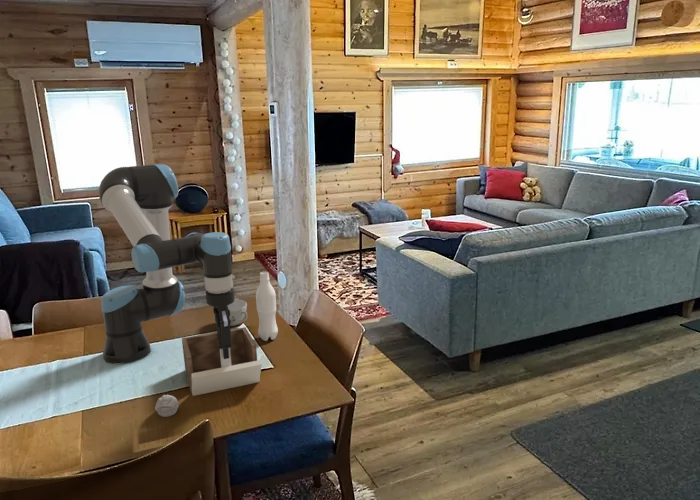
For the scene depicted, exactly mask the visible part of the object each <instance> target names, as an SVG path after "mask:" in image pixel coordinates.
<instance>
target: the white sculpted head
mask: <svg viewBox="0 0 700 500" xmlns="http://www.w3.org/2000/svg"><path fill="white" fill-rule="evenodd" d="M179 406H180V405H179V401H178V398H176V397H175V396H174V395H170V394H163V395H162V396H161V397H158V399H157V401H156V403H155V407H154V410H155V411H156V412H157V414H158V415H159V416H160V417H163V418H164V417H165V418H166V417H172V416H174V415H175V414H176V413H177V412H178V408H179Z"/></svg>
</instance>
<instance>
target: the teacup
mask: <svg viewBox="0 0 700 500" xmlns="http://www.w3.org/2000/svg"><path fill="white" fill-rule="evenodd" d="M234 299H235V300H234V302H233V303H232V304H229V305H228V309H229V310H230V316H229V318H230V320H231V324H230V327H235V326H237V325H239V324H240V323H241V322H245V321H247V319H248V312H247V307H248V303H247V301H245V300H243V299H237V298H234Z"/></svg>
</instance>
